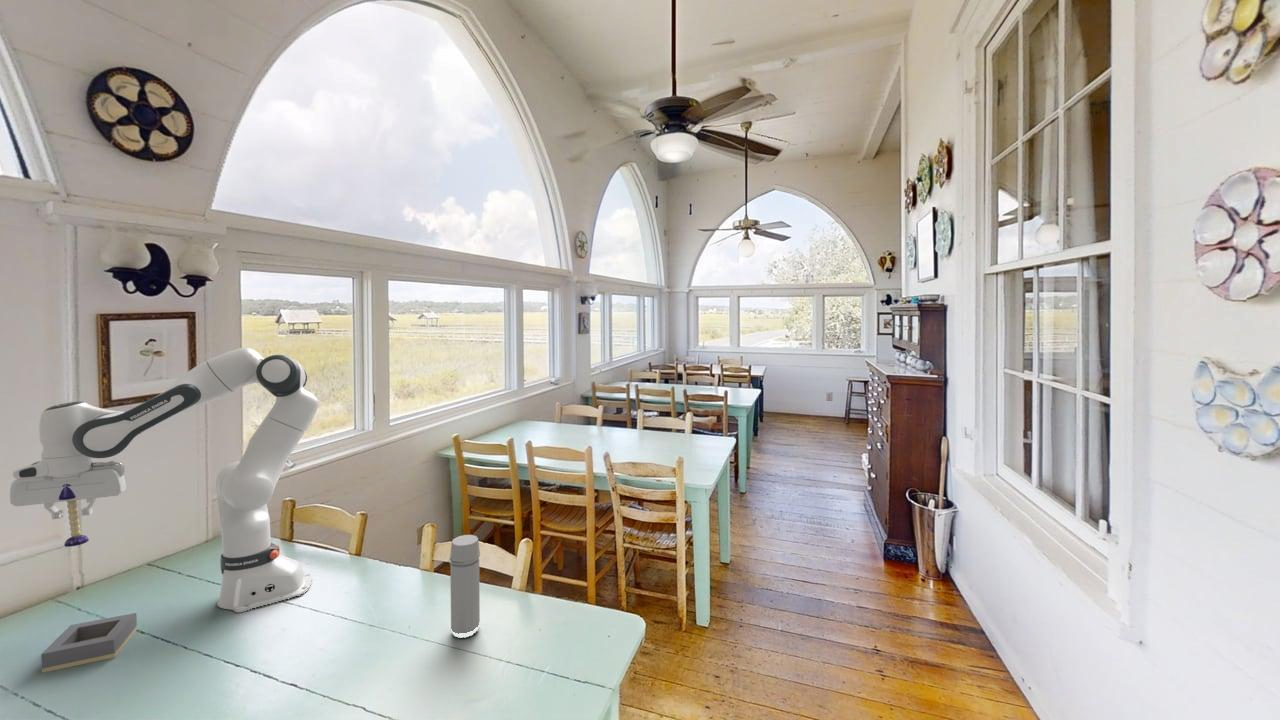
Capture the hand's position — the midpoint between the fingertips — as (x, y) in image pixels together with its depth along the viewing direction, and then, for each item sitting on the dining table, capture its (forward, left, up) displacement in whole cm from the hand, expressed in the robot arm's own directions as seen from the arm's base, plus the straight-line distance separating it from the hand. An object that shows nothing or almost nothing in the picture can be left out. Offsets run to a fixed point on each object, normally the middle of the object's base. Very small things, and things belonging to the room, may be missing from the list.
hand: (72, 516), depth 129 cm
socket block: (-9, +17, -29) cm, 34 cm away
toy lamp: (0, 0, -8) cm, 8 cm away
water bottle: (-91, +48, -29) cm, 106 cm away
